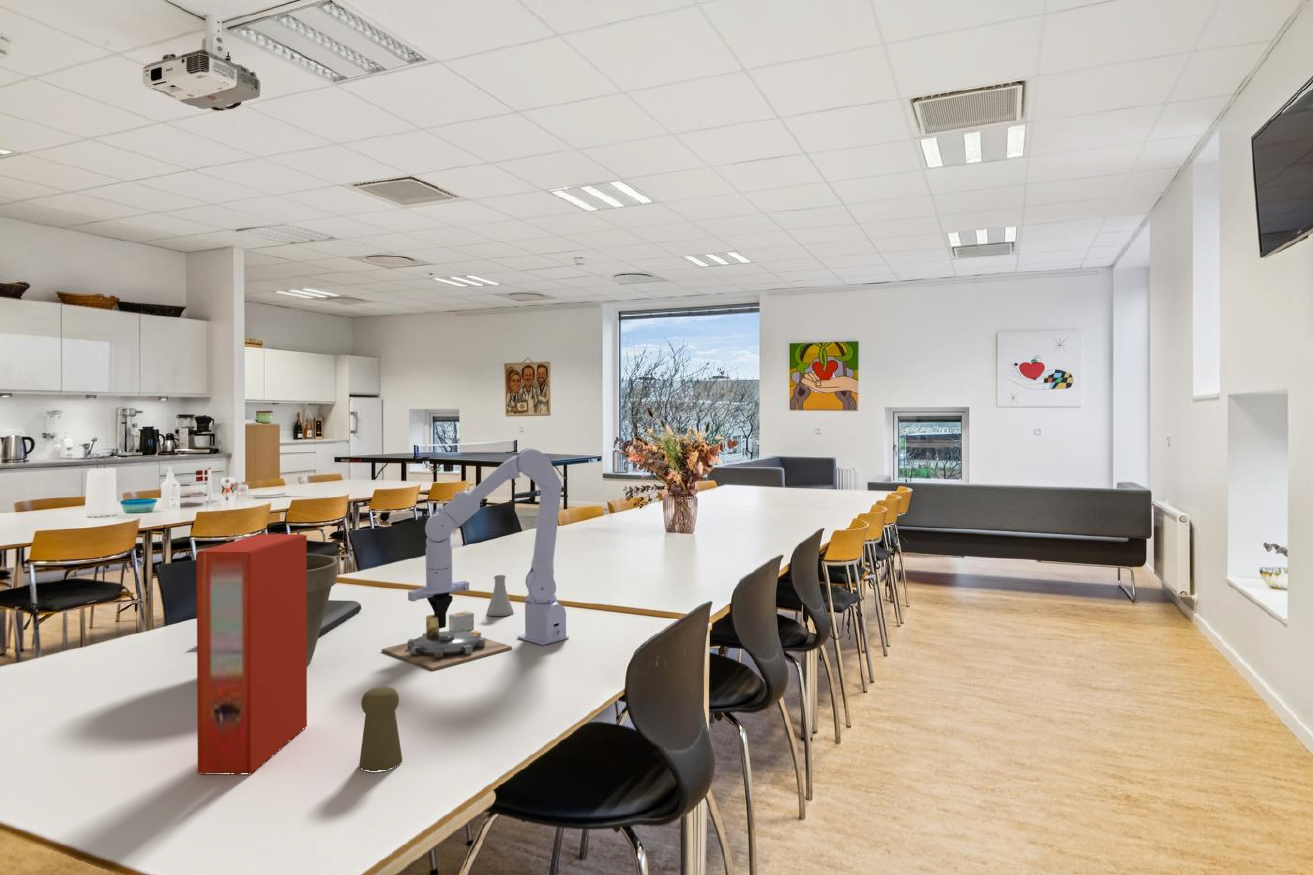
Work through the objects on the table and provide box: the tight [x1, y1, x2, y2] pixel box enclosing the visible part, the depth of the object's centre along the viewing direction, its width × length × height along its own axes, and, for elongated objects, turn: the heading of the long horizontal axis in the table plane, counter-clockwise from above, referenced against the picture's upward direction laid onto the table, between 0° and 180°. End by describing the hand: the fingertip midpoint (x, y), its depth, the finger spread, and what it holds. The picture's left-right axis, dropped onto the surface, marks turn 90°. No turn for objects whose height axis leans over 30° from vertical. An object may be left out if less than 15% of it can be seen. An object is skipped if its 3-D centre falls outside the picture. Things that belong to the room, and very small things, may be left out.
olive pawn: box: [358, 686, 403, 771], centre depth 115 cm, size 6×6×11 cm
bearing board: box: [381, 636, 513, 671], centre depth 172 cm, size 20×20×1 cm
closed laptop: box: [318, 599, 362, 638], centre depth 191 cm, size 33×4×24 cm
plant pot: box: [307, 553, 339, 667], centre depth 161 cm, size 25×25×22 cm
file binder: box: [196, 533, 308, 775], centre depth 120 cm, size 8×17×32 cm, turn 179°
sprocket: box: [407, 614, 487, 658], centre depth 172 cm, size 17×17×6 cm
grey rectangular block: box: [448, 610, 475, 632], centre depth 189 cm, size 3×5×4 cm, turn 138°
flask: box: [486, 574, 514, 617], centre depth 205 cm, size 7×7×10 cm
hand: (439, 627), depth 177 cm, fingers closed, pressing on sprocket
